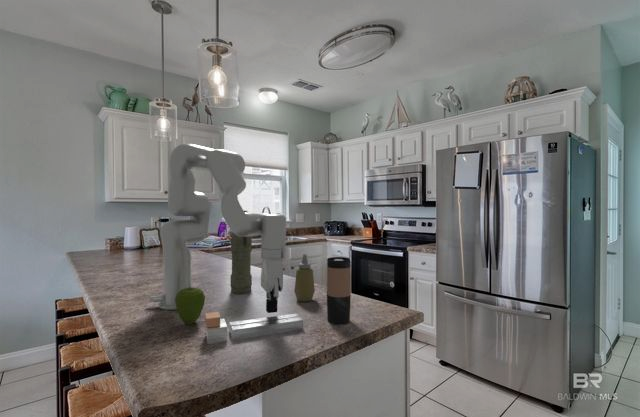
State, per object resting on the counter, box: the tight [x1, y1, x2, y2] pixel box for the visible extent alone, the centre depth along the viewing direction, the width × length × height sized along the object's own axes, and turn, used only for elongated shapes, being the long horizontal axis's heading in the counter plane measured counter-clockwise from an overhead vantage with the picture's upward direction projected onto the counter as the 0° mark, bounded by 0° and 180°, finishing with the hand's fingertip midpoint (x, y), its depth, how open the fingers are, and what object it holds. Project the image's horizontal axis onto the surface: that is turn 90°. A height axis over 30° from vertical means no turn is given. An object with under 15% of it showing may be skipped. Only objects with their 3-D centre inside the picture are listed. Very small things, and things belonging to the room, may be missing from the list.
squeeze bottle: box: [294, 253, 316, 302], centre depth 126 cm, size 8×8×18 cm
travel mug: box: [326, 256, 352, 326], centre depth 102 cm, size 8×8×20 cm
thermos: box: [230, 210, 253, 295], centre depth 138 cm, size 9×12×35 cm
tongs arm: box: [229, 313, 300, 335], centre depth 96 cm, size 20×3×3 cm, turn 113°
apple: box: [175, 287, 206, 325], centre depth 100 cm, size 9×8×12 cm
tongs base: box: [205, 316, 304, 345], centre depth 93 cm, size 27×7×4 cm, turn 113°
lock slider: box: [204, 311, 221, 329], centre depth 88 cm, size 4×5×2 cm
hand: (271, 311), depth 100 cm, fingers closed
